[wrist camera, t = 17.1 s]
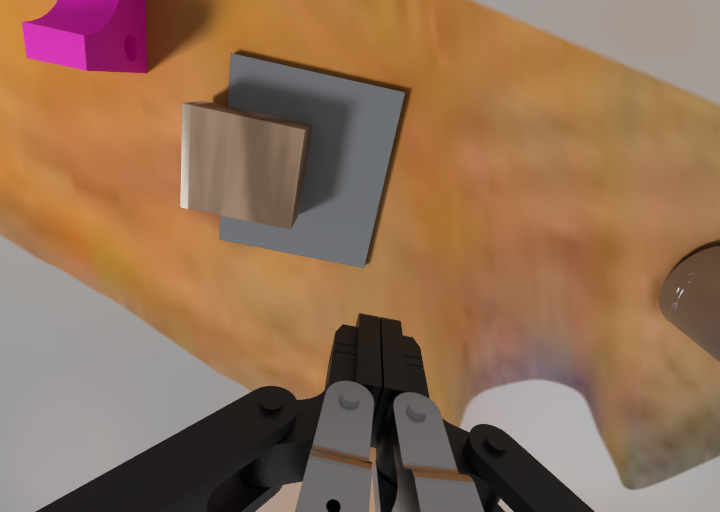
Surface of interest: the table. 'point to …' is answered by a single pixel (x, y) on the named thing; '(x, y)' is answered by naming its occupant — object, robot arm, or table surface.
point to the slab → (243, 163)
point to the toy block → (90, 35)
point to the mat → (321, 157)
